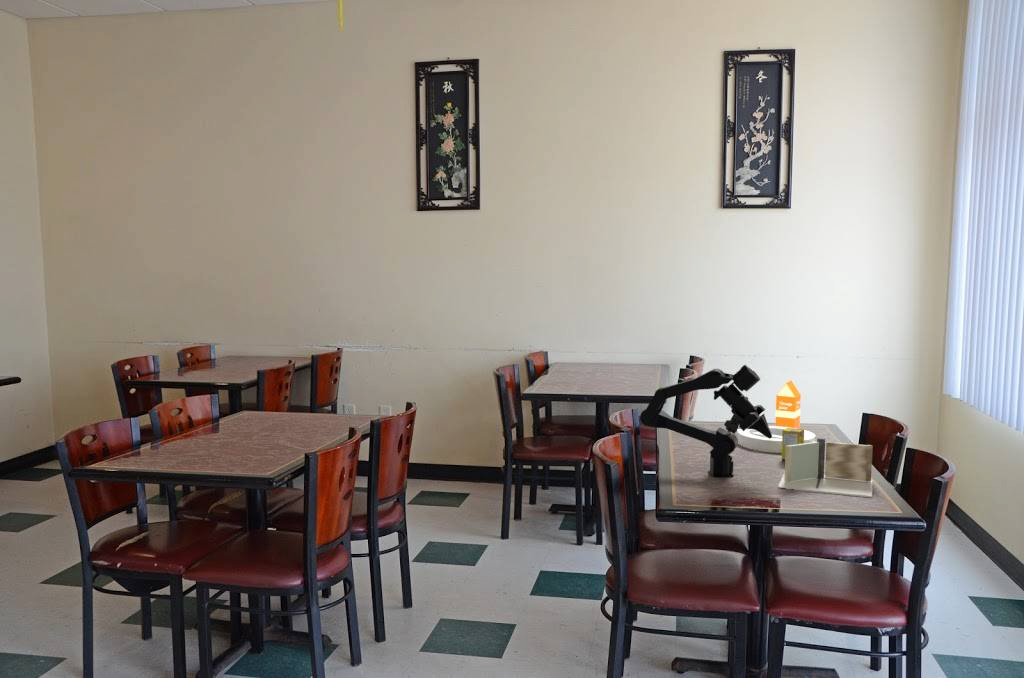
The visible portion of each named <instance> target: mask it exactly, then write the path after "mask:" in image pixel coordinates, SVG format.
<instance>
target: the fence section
mask: <svg viewBox="0 0 1024 678" xmlns="http://www.w3.org/2000/svg"><path fill="white" fill-rule="evenodd" d="M816 442H819V461H818V477H817V478H821V479H822V478H824V475H825V477H828V478H838V479H849V480H859V481H867V482H871V479H872V470H873V469H872V466H873V465H872V464H873V447H874V445H872V444H857V443H845V442H835V441H834V442H833V441H832V442H831V441H826V439H825V438H823V437H822V438H821V437H817V438H816Z"/></svg>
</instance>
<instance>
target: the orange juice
mask: <svg viewBox="0 0 1024 678" xmlns="http://www.w3.org/2000/svg"><path fill="white" fill-rule="evenodd" d="M800 393H801V392H800V391H799V390H798V388H797V387H796V385H795V384H794V382H793V380H790V381H787V382H786V383H785V384H784V385H783V386H782V387H781V389H780V390H779V391H778V392H777V394H776V395H775V396H776V398H775V399H776V400H775V425H774V426H781V427H791V428H797V429H801V428H800V427H801V425H800V422H801V421H800V420H801V394H800Z"/></svg>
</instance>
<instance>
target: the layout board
mask: <svg viewBox="0 0 1024 678" xmlns="http://www.w3.org/2000/svg"><path fill="white" fill-rule="evenodd" d="M784 476H785V471H784V472H783V475H782V477H781V479H780V481H779V484H778V485H777V488H778V487H779V488H778V489H781V488H786V489H785V490H791V489H794V491H802V492H811V493H822V494H831V495H841V496H849V497H850V496H851V497H862V498H871V499H872V498H873V481H874V480H873V479H872V478H871V482H867V481H859V480H849V479H838V478H828V477H825V474H824V478H822V479H821V478H810V479H804V480H798V481H791V482H785V481H784Z"/></svg>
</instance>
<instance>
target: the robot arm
mask: <svg viewBox="0 0 1024 678" xmlns="http://www.w3.org/2000/svg"><path fill="white" fill-rule="evenodd" d="M731 381H733V382H731ZM759 381H761V378H760V376H759V375H758V374H757V373H756V371H754V370H752V369H751V368H750V366H748V365H747V364H743V365H742V366H741V367H740V369H739V370H738V371H736V373H734V374H732V373H727V372H724V371H723V370H722V369H720V368H713V369H711V370H709V371H707V372H705V373H703V374H701V375H699V376H698V377H696V378H692V379H689V380H685V381H682V382H678V383H675V384H671V385H668V386H664V387H659V388H658V389H656V390H655V392H654V394H653V397H652V398H651V400H650V401H649V404H648V405H647V407H646V408H645V409H643V410H642V411H641V412H640V416H639V419H640V421H641V424H642V425H643V426H645V427H648V428H649V427H650V428H656V429H667V430H669V431H672V432H675V433H678V434H681V435H683V436H687V437H689V438H691V439H695V440H698V441H700V442H703V443H705V444H708V445H709V446H710V447H711V448H712V449H711V450H710V451H709V454H710V455H709V470H708V471H707V473H709V475H711V476H712V475H713V477H714V476H715V477H716V478H722V476H731V477H734V476H735V475H734V460H733V457H732V455H731V454H732V453H733V452H734V451H735V449H737V447H738V445H739V444H738V437H736V436H735V435H734V434H735V432H736V431H737V429H742V430H743V432H744V431H745V430H746V429H747V428H748V429H755V430H757V431H758V432H760V433H761V434H763V435H764V436H766V437H768V438H769V439H770V438H771V437H772V434H771V431H770V429H769V426H770V425H769V423H768V421H767V418H766V416H765V413H763V412H765V411H766V408H764V406H763V405H761V404H757V405H753V404H752V403H751V401H750V400H749V398H748V396H745V395H744V394H743V393H742V392H743V391H745V392H748V391H749V390H750V389H752V388H753V387H754V386H755V385H757V383H759ZM730 382H731V383H730ZM729 383H730V384H729ZM727 384H729V385H728V386H727ZM722 385H723V386H722ZM720 387H721V388H720ZM718 388H719V389H718ZM712 389H718V390H714V391H713V400H714V401H716V400H717V399H718V398H719V397H720V398H721V399H722V400H723V401H724V402H725V404H726V405H727V406H728V407H729V408H730V409H731V410H730V412H731V414H732V416H731V418H730V419H727V420H725V422H724V424H723V425H724V426H725V429H724V428H723V427H718V428H717V429H716V430H710V429H709V428H704V427H702V426H699V425H696V424H693V423H691V422H688V421H686V420H685V421H684V420H682V419H679V418H676V417H673V416H671V415H670V414H668V413H667V412H666V411H664V410H663V407H664V406H665V403H666V402H667V399H671V398H674V397H677V396H681V395H684V394H688V393H691V392H694V391H699V390H712ZM762 413H763V414H762ZM732 433H734V434H732ZM715 477H714V478H715Z"/></svg>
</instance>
